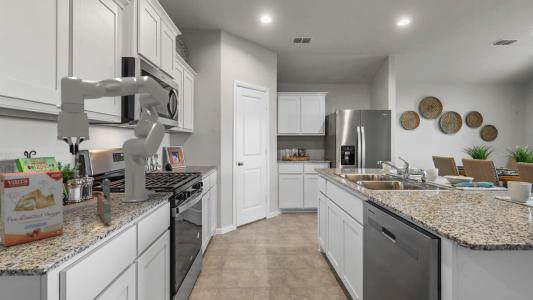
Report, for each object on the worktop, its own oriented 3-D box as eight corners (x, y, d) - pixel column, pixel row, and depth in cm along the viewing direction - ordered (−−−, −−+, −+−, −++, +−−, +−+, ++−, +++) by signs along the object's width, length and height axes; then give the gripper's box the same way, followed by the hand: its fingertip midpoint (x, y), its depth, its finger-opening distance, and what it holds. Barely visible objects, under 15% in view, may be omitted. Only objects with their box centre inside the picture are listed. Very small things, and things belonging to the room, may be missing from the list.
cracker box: (5, 248, 77) (3, 174, 76) (0, 243, 80) (-2, 173, 79) (64, 234, 88) (63, 170, 87) (58, 230, 91) (56, 169, 91)
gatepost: (109, 211, 116) (109, 178, 116) (111, 213, 114) (111, 178, 113) (101, 212, 114) (101, 178, 113) (103, 214, 112) (103, 179, 111)
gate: (97, 211, 112) (96, 194, 112) (102, 210, 113) (101, 193, 113) (104, 223, 96) (104, 203, 96) (110, 222, 97) (110, 203, 97)
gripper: (48, 106, 100) (49, 155, 101) (95, 109, 109) (96, 154, 110) (50, 108, 107) (51, 154, 107) (94, 110, 115) (95, 153, 116)
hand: (74, 154), depth 108 cm, fingers closed
